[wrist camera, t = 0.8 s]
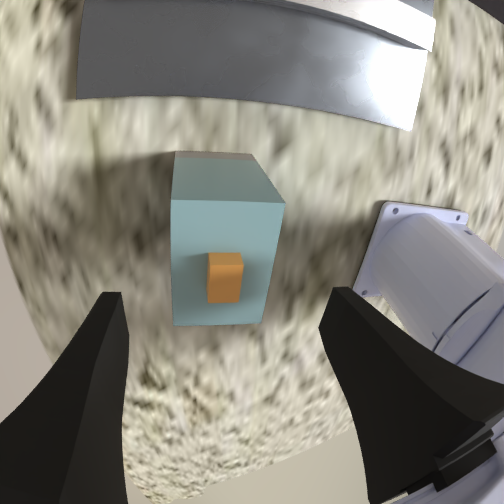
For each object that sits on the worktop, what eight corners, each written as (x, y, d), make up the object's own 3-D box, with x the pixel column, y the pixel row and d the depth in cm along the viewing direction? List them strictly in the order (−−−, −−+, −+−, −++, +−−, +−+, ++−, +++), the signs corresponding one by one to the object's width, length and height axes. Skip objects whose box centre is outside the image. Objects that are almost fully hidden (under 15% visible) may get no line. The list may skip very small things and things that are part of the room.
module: (252, 154, 16) (292, 213, 10) (239, 249, 19) (264, 335, 14) (175, 150, 15) (169, 210, 10) (173, 249, 18) (173, 339, 13)
